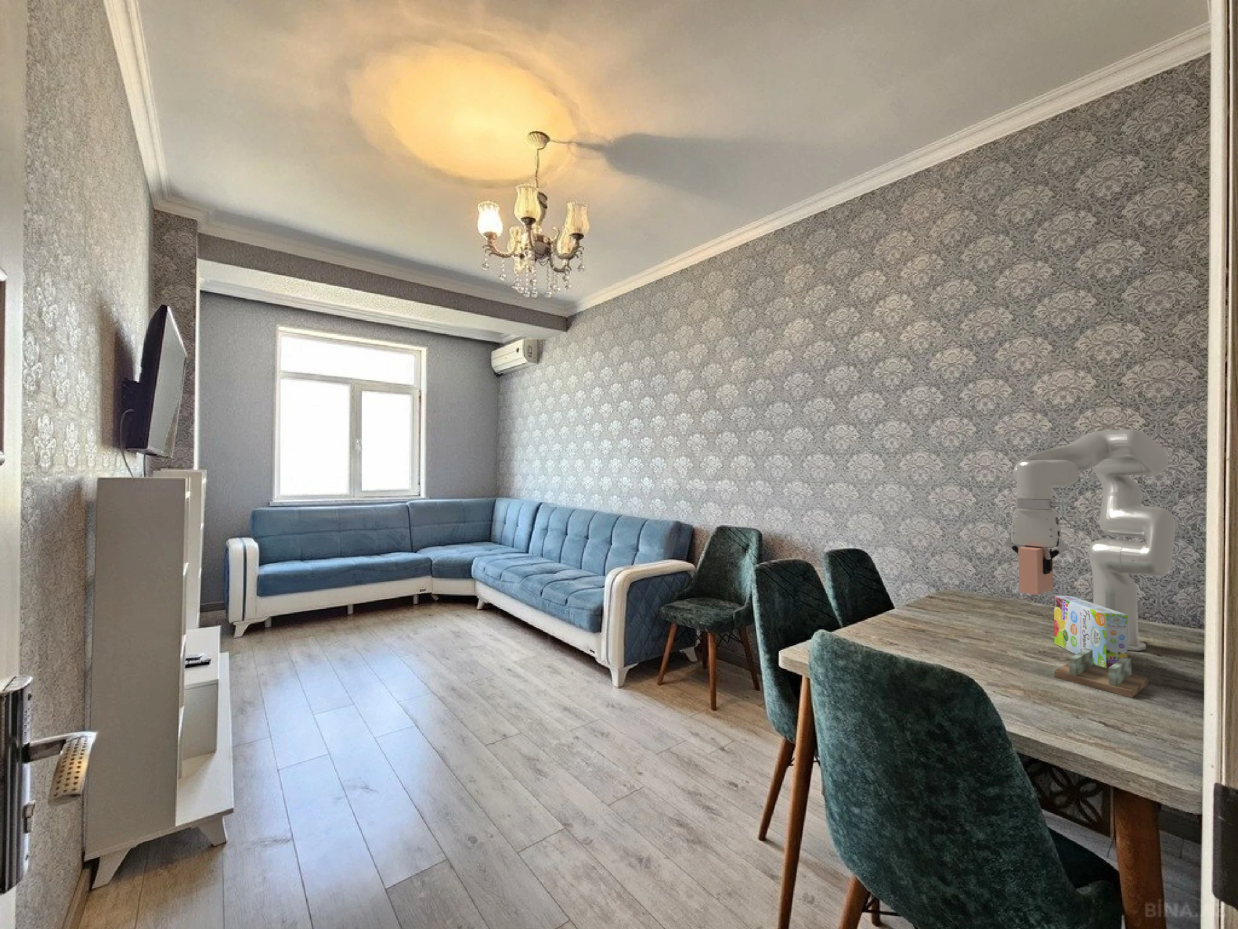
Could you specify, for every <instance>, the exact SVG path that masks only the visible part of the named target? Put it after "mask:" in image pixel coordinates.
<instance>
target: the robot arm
mask: <svg viewBox="0 0 1238 929" xmlns="http://www.w3.org/2000/svg"><path fill="white" fill-rule="evenodd" d="M1168 466H1169V456H1168V454H1167V452H1166V450H1165V449H1164V448H1163V447H1162V445H1160V444H1158V442H1156V441H1155V440H1154V439H1152V438H1151V437H1150V435H1147V434H1146V433H1144V432H1143V431H1141V430H1137V429H1132V428H1131V429H1130V428H1128V429H1114V430H1112V429H1110V430H1109V429H1108V430H1097V431H1092V432H1089V433H1087V434H1085V435H1083V436H1081V437H1080V438H1078V439H1076V440H1074V441H1072V442H1071V443H1068V444H1066V445H1062V446H1057V447H1054V448H1051V449H1050V448H1049V449H1046V450H1043V451H1039V452H1035V453H1031V454H1029V455H1028V456H1026V457H1024V458H1021V459H1020V460H1019V461H1018V462H1017V463H1016V464H1015V466H1014V467H1013V470H1012V476H1013V479H1014V481H1015V482H1016V499H1017V500H1016V502H1017V504H1016V505H1017V506H1016V508H1017V509H1014V511H1013V516H1012V520H1011V529H1010V530H1011V533H1010V534H1009V536H1008V538H1006V540H1005V541H1004V545H1006V546H1007V547H1008V548H1010V549H1012V550H1013V551H1014V552H1015V553H1016V555H1017V556H1018V557H1019V548H1021V547H1025V546H1031V547H1041V548H1043V551H1044V555H1045V557H1044V559H1043V573H1044V574H1049V573H1050V571H1052V569H1053V568H1054V567H1053V568H1052V559H1053V560H1054V558H1056V557H1057V556H1058V555H1060V554H1063V553H1065V552H1067V551H1069V550H1070V547H1069V546H1068V545H1067V543H1065V541H1064V539H1062V538H1063V537H1062V528H1061V522H1060V516H1059V514H1058V511H1057V510H1054V509H1055V508H1059V507H1060V502H1059V501H1055V500H1054V499H1053V487H1054V488H1055V487H1056V488H1064V487H1069V486H1072V485H1074V484H1076V483H1077V481H1078V480H1079V478H1080V472H1083V471H1088V470H1090V469H1091V470H1092V471H1093V472H1094V473H1095V475H1096V477H1097V479H1098V480H1099V482H1100V484H1101V486H1102V487H1101V488H1102V500H1101V507H1100V515H1099V528H1100V530H1101V531H1102V532H1103V533H1105V534H1107V535H1111V536H1117V537H1127V538H1135V539H1137V538H1138V539H1146V542H1144V541H1143V542H1141V541H1135V540H1134V541H1132V540H1127V539H1126V540H1124V539H1113V538H1102V539H1097V540H1093V541H1092V542H1090V544H1089V545H1088V548H1087V549H1088V550H1087V555H1088V560H1089V563H1090V566H1091V572H1092V574H1091V575H1092V585H1093V586H1092V589H1093V590H1092V592H1093V593H1092V594H1093V595H1092V597H1093V602H1092V603H1094V604H1097V605H1100V606H1103V607H1106V608H1109V609H1111V610H1114V611H1117V612H1120V613H1123V614H1126V615H1127V651H1145V650H1146V649H1147V645H1146V644H1145V643H1144V642H1143V641H1140V640H1139V616H1138V615H1139V612H1138V610H1139V609H1138V607H1139V606H1138V605H1139V604H1138V588H1137V586H1136V583H1135V582H1134V580H1133V579H1132V578H1131V577H1130V575H1129V574H1132V575H1133V574H1134V575H1140V576H1141V575H1142V576H1148V577H1149V576H1150V577H1163V576H1166V575H1167V574H1169V572H1170V570H1171V567H1172V560H1173V556H1174V555H1173V553H1174V545H1175V537H1176V520H1175V517H1174V515H1173V513H1172V512H1171V511H1170V510H1168V509H1166V508H1164V507H1160V506H1147V505H1145V506H1144V505H1142V499H1143V490H1142V488H1141V487H1140V485H1139V484H1138V483H1137V482H1136V481H1135V480H1134V479H1133V478H1131V477H1130V476H1132V475H1134V476H1135V475H1140V476H1141V475H1144V476H1145V475H1147V476H1149V475H1150V476H1152V475H1158V474H1161V473H1163V472H1164V471H1165V470H1166V469H1167V468H1168ZM1129 475H1130V476H1129ZM1057 547H1058V548H1057ZM1053 548H1057V549H1053Z"/></svg>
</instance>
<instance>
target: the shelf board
mask: <svg viewBox="0 0 1238 929" xmlns="http://www.w3.org/2000/svg"><path fill="white" fill-rule="evenodd" d="M1053 674H1054V678H1056V679H1061V680H1064V681H1068V682H1072V683H1075V684H1079V685H1083V686H1085V687H1086V686H1087V687H1091V688H1092V689H1093V688H1094V689H1098V690H1102V691H1104V692H1105V691H1106V692H1109V693H1112V692H1113V694H1116V695H1120V696H1124V697H1128V698H1132V699H1133V698H1134V697H1135V696H1136V695H1137V694H1139V693H1140V692H1141V691H1142V690H1143V689H1144V688H1145V687H1147V686H1148V685H1149V677H1146V676H1143V675H1142V676H1141V675H1138V674H1134V673H1132V658H1131V657H1128V656H1127V657H1124V658H1122V659H1121V660H1119V661H1118V662H1116V663H1115V664H1113V665H1112V666H1110V667H1109V668H1105V667H1101V666H1098V665H1096V664H1094V663H1093V650H1091V649H1087V648H1086V649H1085V650H1083V651H1081V652H1079V653H1078V654H1074V655H1073V656H1071V657H1069V658H1068V663H1066V664H1064V665H1062V666H1061V667H1059V668H1057V669H1056V670H1054V671H1053Z"/></svg>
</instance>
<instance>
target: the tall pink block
mask: <svg viewBox="0 0 1238 929" xmlns="http://www.w3.org/2000/svg"><path fill="white" fill-rule="evenodd" d="M1044 557H1045V555H1044V551H1043V548H1041V547H1031V546H1025V547H1021V548H1019V556H1018V581H1019V582H1018V583H1019V585H1018V587H1019V591H1018V592H1019V593H1022V594H1028V595H1034V596H1039V595H1040V596H1041V595H1042V594H1045V593H1048V592H1051V591H1053V590H1054V573H1053V572H1054V570H1053V569H1052V571H1050V573H1049V574H1044V573H1043V559H1044ZM1053 560H1054V558H1053V559H1052V568H1054V567H1053V564H1054V563H1053Z"/></svg>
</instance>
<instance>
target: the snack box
mask: <svg viewBox="0 0 1238 929" xmlns="http://www.w3.org/2000/svg"><path fill="white" fill-rule="evenodd" d="M1053 607H1054V608H1053V620H1054V621H1053V626H1054V628H1053V629H1054V630H1053V631H1054V636H1053V637H1054V640H1053V644H1055V645H1056V646H1058V647H1060V646H1061V647H1060V648H1062V649H1063V650H1066V651H1068V652H1070V653H1072V654H1074V655H1076V654H1078V653H1079V652H1081V651H1083V650H1085V649H1086V648H1087V649H1091V650H1093V665H1097V666H1101V667H1105V668H1109V667H1110V666H1112V665H1113V664H1115V663H1116V662H1118V661H1119V660H1121V659H1122V658H1124V657H1127V658H1128V650H1127V615H1126V614H1123V613H1120V612H1117V611H1114V610H1111V609H1109V608H1106V607H1103V606H1100V605H1097V604H1094V603H1093V602H1092V601H1087V600H1085V599H1082V598H1079V597H1077V596H1076V597H1075V596H1073V595H1054V596H1053Z"/></svg>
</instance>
